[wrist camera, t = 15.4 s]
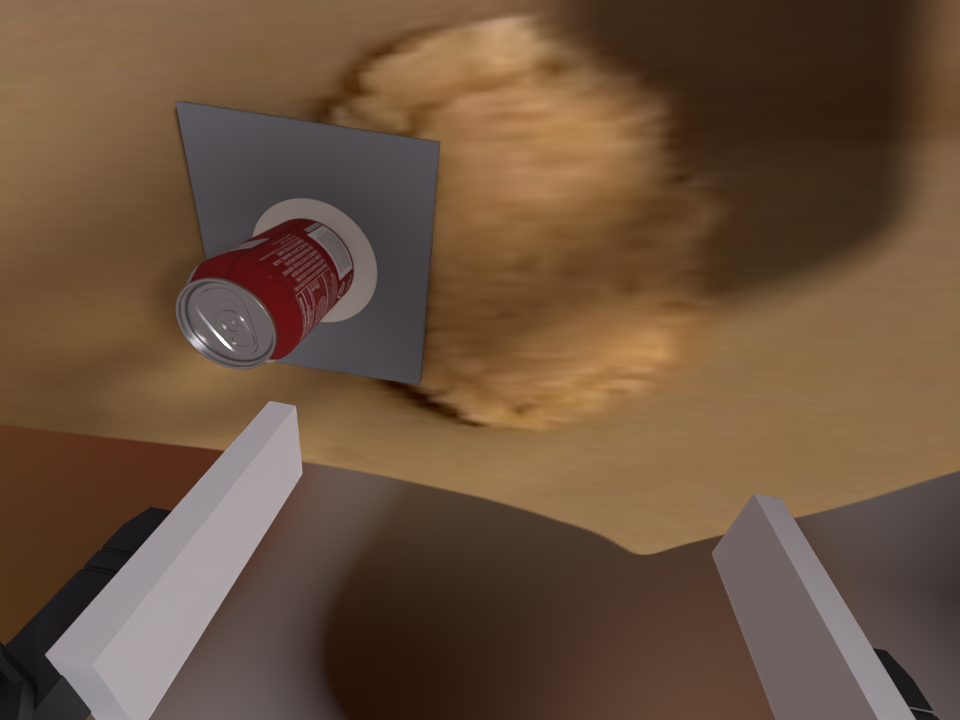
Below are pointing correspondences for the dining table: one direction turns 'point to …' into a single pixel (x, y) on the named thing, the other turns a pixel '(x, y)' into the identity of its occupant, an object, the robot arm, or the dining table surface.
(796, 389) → the dining table surface
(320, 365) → the board
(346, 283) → the soda can
